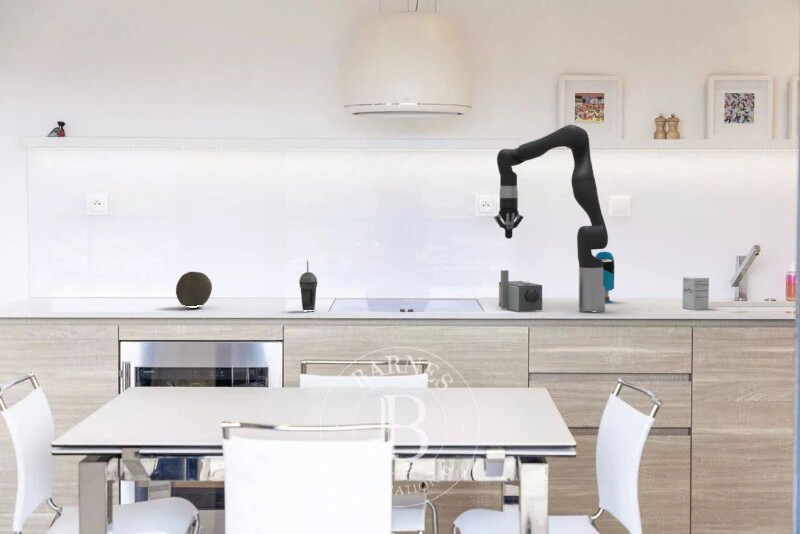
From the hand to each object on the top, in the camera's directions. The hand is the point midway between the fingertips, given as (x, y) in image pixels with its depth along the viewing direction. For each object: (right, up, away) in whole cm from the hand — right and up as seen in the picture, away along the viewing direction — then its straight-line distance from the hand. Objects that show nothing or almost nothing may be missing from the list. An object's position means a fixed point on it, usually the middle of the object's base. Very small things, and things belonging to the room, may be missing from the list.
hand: (508, 238), depth 432 cm
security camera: (+40, -27, 0) cm, 48 cm away
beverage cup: (-81, -30, -27) cm, 91 cm away
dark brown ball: (-129, -29, -14) cm, 133 cm away
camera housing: (+3, -29, -21) cm, 35 cm away
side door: (-2, -29, -27) cm, 40 cm away
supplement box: (+71, -29, -25) cm, 81 cm away
